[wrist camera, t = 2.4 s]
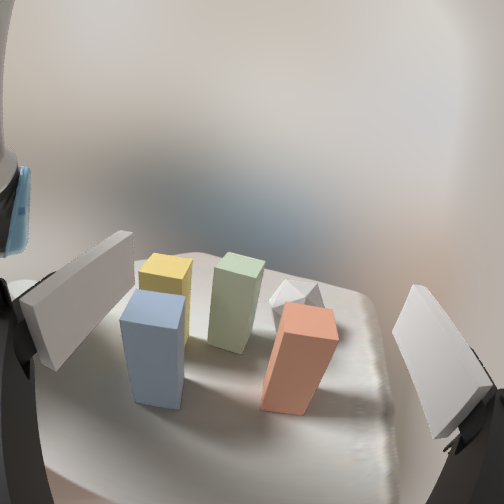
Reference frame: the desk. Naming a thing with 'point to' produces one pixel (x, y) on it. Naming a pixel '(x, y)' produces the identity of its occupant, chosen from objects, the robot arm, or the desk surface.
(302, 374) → the terracotta pillar
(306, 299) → the die
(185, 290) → the mustard pillar
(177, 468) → the desk surface
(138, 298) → the slate pillar
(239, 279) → the sage pillar
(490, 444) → the robot arm
